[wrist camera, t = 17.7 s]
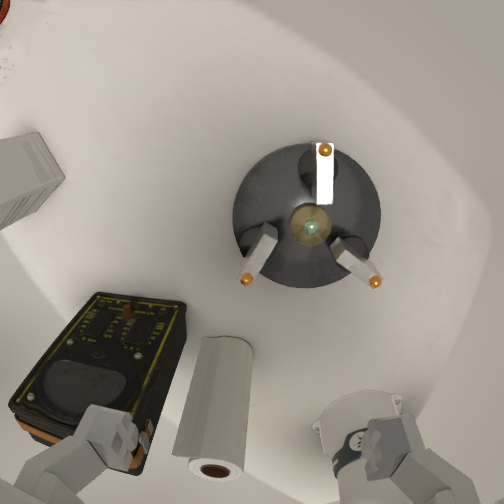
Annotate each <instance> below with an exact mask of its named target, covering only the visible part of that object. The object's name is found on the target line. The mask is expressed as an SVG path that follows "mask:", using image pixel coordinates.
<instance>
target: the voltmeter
mask: <svg viewBox="0 0 504 504" xmlns="http://www.w3.org/2000/svg"><path fill="white" fill-rule="evenodd" d="M185 312H186V305H185V304H183V303H182V302H175V301H166V300H157V299H148V298H139V297H131V296H123V295H115V294H108V293H101V292H97V293H95V294H94V295H93V296H92V297H91V298H90V299H89V300H88V302H87V303H86V304H85V305H84V306H83V307H82V309H81V310H80V311H79V312H78V313H77V314H76V316H75V317H74V318H73V319H72V320H71V321H70V323H69V324H68V325H67V326H66V327H65V329H64V330H63V331H62V332H61V333H60V335H59V336H58V337H57V338H56V340H55V341H54V342H53V343H52V345H51V346H50V347H49V348H48V350H47V351H46V352H45V353H44V355H43V356H42V357H41V359H40V360H39V361H38V362H37V364H36V365H35V366H34V367H33V369H32V370H31V371H30V373H29V374H28V375H27V377H26V378H25V379H24V381H23V382H22V384H21V385H20V386H19V388H18V389H17V390H16V392H15V393H14V395H13V396H12V397H11V399H10V401H9V403H8V406H9V408H10V410H11V411H12V412H13V413H15V415H14V416H15V419H16V420H17V422H18V423H19V425H20V426H21V427H22V429H24V430H25V431H28V432H29V434H30V435H31V436H32V438H33V439H34V440H35V441H37V442H40V443H42V444H44V445H46V446H49V447H51V446H53V445H55V444H56V443H58V442H60V441H61V440H63V439H65V438H66V437H68V436H69V435H70V436H73V435H74V433H75V431H76V429H77V427H78V425H79V423H80V421H81V419H82V417H83V416H84V414H85V412H86V410H87V408H88V407H89V406H90V405H91V404H93V405H97V406H102V407H106V408H110V409H115V410H120V411H125V412H130V414H131V416H132V420H131V422H132V423H133V424H135V425H136V427H137V429H138V434H139V435H138V443H137V446H136V448H135V449H134V450H133V451H131V452H130V453H131V455H132V457H133V458H132V461H131V464H130V466H129V469H128V472H127V471H123V470H118V469H114V468H110V467H107V468H109V469H113V470H116V471H119V472H123V473H127V474H130V475H134V476H138V475H140V474H141V473H142V471H143V468H144V465H145V462H146V459H147V456H148V452H149V449H150V446H151V443H152V440H153V437H154V434H155V430H156V427H157V424H158V421H159V418H160V415H161V412H162V409H163V406H164V403H165V400H166V397H167V394H168V391H169V388H170V385H171V382H172V379H173V376H174V373H175V371H176V368H177V365H178V362H179V359H180V356H181V353H182V350H183V347H184V345H185V342H186V326H185Z"/></svg>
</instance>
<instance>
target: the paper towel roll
mask: <svg viewBox="0 0 504 504" xmlns="http://www.w3.org/2000/svg"><path fill="white" fill-rule="evenodd" d="M252 360H253V352H252V348H251V347H250V346H249V344H248V343H247V342H245V341H243V340H241V339H238V338H232V337H225V336H223V337H218V338H206V337H204V338H203V342H202V345H201V349H200V352H199V356H198V359H197V363H196V366H195V370H194V374H193V377H192V381H191V384H190V388H189V392H188V395H187V399H186V403H185V406H184V410H183V414H182V417H181V421H180V425H179V428H178V432H177V436H176V440H175V443H174V448H173V451H172V455H174V456H178V457H186V458H189V463H188V468H189V470H190V471H191V472H192V473H194V474H196V475H197V476H199V477H202V478H204V479H207V480H213V481H233V480H237V479H238V478H240V477H241V476H242V474H243V472H244V460H245V448H246V436H247V424H248V411H249V399H250V386H251V373H252Z"/></svg>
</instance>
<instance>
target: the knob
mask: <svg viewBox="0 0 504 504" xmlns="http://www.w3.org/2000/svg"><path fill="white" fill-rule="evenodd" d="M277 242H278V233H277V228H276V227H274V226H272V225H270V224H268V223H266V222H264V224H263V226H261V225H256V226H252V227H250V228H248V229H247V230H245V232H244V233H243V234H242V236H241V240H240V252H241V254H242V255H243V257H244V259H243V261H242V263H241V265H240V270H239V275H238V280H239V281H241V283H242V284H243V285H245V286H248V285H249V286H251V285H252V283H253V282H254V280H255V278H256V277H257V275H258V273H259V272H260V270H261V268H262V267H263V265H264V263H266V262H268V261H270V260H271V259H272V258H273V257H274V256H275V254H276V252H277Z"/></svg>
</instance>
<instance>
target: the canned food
mask: <svg viewBox="0 0 504 504" xmlns="http://www.w3.org/2000/svg"><path fill="white" fill-rule="evenodd" d="M9 8H10V0H0V24H1V23H2V22H3V20H4V19H5V17H6V15H7V13H8V11H9Z"/></svg>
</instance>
